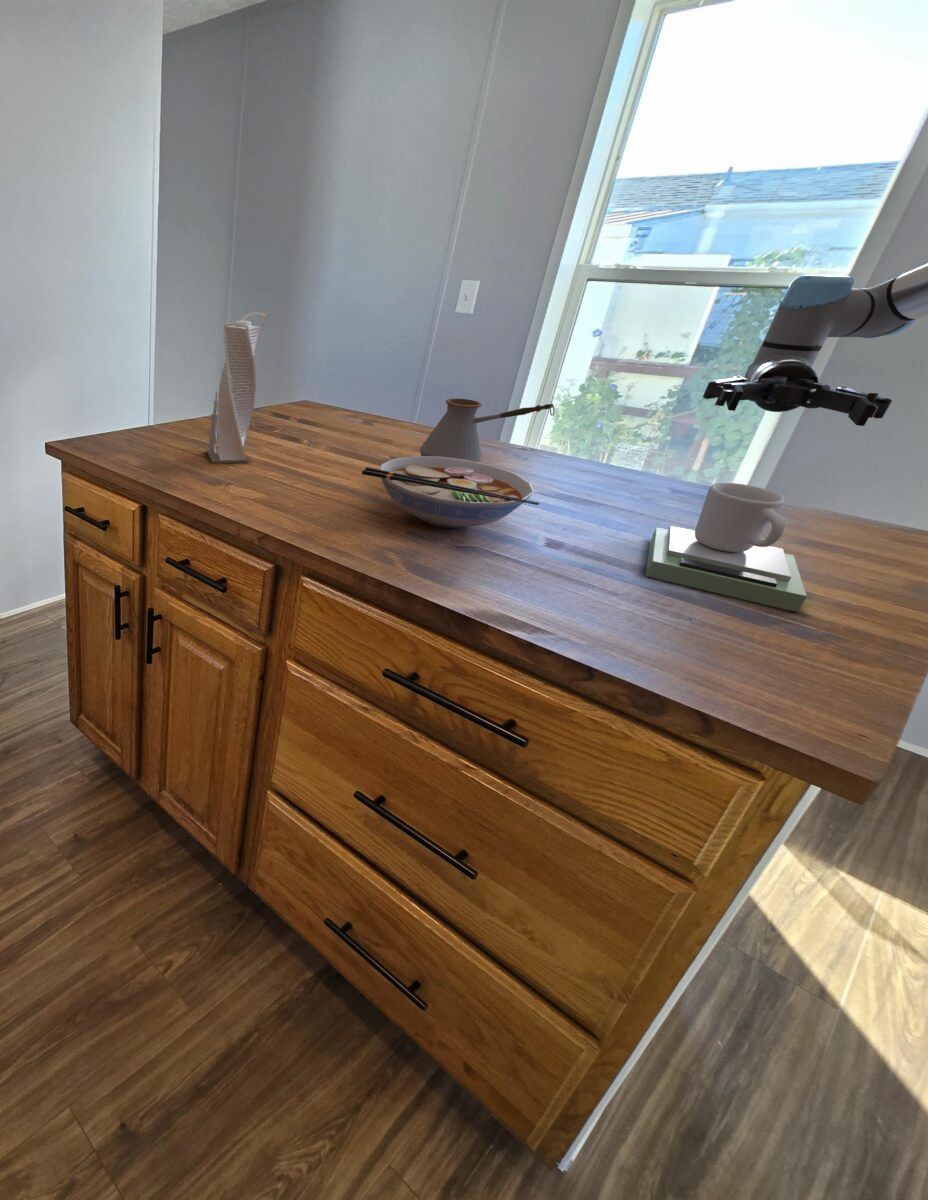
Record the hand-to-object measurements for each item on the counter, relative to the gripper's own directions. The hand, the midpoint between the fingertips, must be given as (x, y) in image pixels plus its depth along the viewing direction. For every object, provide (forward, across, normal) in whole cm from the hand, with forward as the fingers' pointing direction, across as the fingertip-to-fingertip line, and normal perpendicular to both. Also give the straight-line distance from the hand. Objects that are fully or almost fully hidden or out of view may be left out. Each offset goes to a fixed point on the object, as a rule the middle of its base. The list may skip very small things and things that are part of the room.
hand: (798, 408), depth 91 cm
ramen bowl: (+18, +38, -21) cm, 47 cm away
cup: (+13, +2, -18) cm, 22 cm away
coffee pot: (-12, +40, -21) cm, 46 cm away
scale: (+14, +2, -21) cm, 25 cm away
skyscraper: (+11, +82, -20) cm, 85 cm away
